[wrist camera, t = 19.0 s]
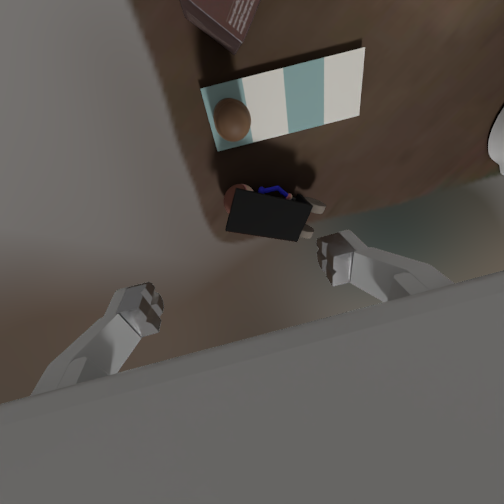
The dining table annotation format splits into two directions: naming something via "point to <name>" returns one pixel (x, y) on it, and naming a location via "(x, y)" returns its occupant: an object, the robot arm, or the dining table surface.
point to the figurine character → (269, 213)
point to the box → (222, 19)
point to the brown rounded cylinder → (231, 119)
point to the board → (293, 97)
